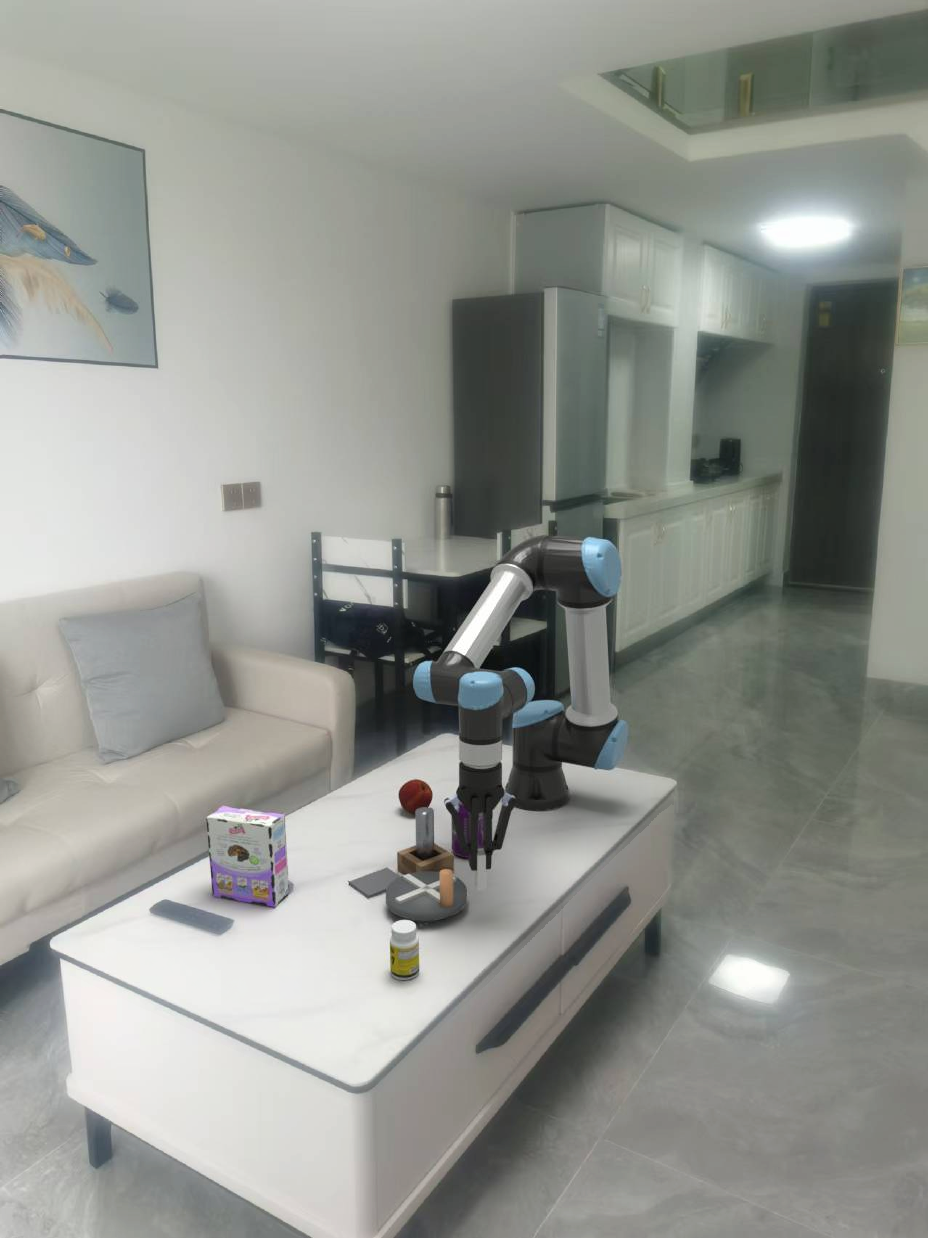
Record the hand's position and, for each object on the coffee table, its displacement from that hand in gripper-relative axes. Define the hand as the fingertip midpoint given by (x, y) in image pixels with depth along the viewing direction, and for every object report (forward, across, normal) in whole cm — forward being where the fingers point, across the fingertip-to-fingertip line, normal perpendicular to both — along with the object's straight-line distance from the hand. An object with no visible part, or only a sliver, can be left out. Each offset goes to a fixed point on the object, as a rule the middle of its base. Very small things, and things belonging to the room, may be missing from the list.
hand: (480, 885), depth 166 cm
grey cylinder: (+6, +8, -19) cm, 21 cm away
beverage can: (+7, -2, -26) cm, 27 cm away
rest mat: (+6, +17, -16) cm, 24 cm away
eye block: (+6, +8, -19) cm, 21 cm away
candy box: (+7, +42, -16) cm, 45 cm away
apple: (+6, +7, -47) cm, 48 cm away
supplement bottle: (+7, +15, +14) cm, 22 cm away
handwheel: (+5, +9, -5) cm, 12 cm away
